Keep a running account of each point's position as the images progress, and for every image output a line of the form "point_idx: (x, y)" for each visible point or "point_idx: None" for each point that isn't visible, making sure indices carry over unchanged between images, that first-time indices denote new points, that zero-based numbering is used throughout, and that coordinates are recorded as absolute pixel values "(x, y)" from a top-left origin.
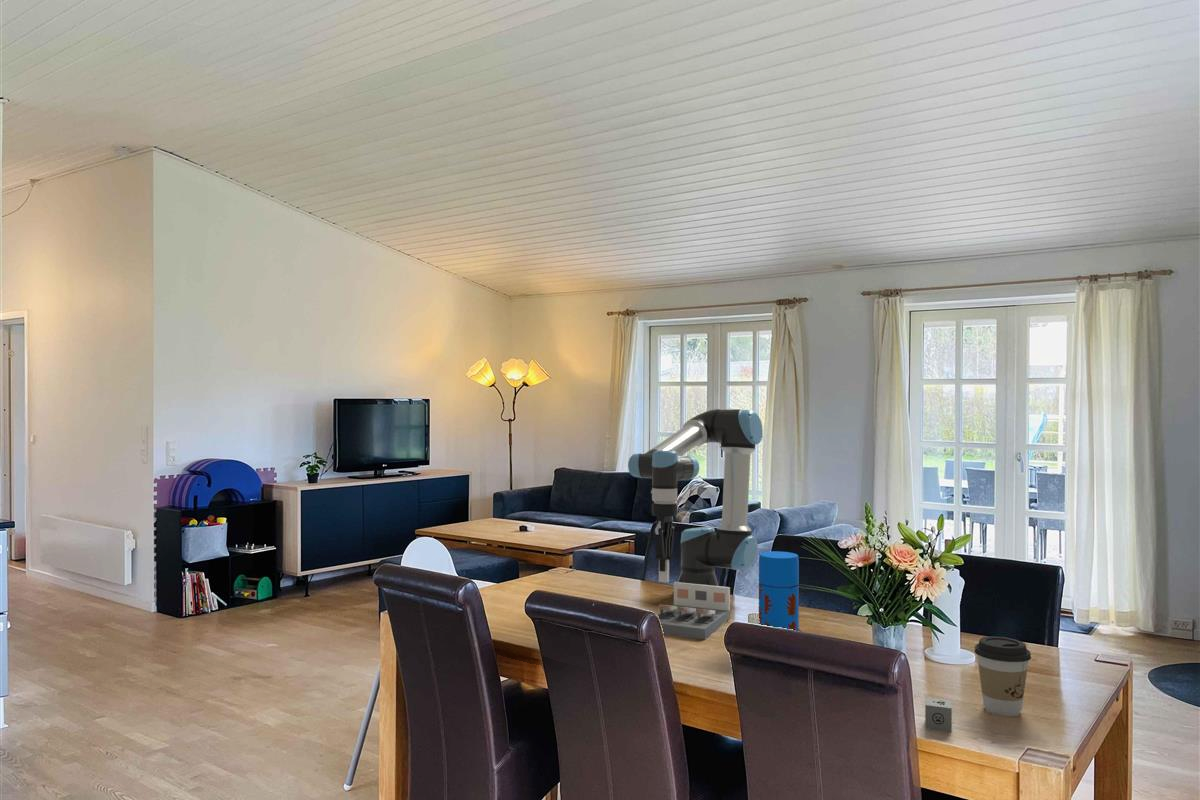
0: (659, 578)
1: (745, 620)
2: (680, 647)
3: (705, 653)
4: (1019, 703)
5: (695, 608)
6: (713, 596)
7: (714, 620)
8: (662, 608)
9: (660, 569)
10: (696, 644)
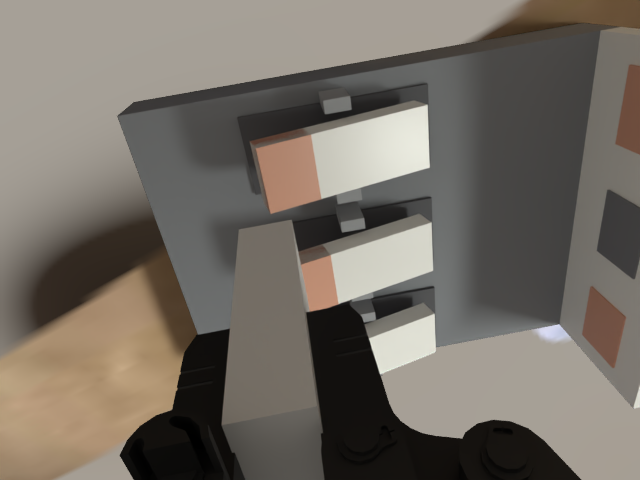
0: (238, 254)
1: (561, 338)
2: (61, 341)
3: (76, 425)
4: None
5: (423, 273)
6: (609, 300)
7: None
8: (256, 170)
9: (188, 363)
10: (144, 361)
